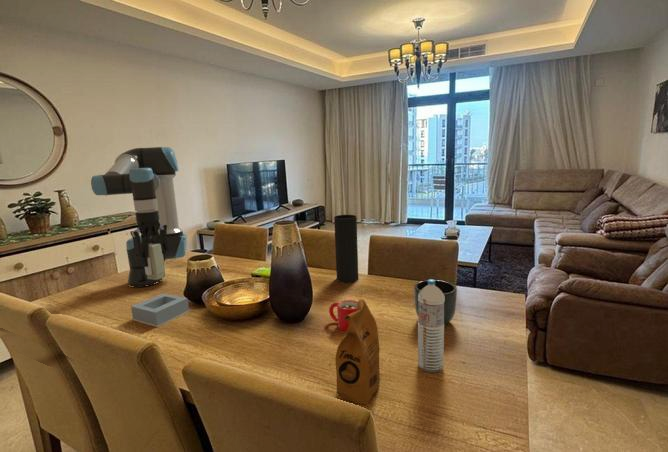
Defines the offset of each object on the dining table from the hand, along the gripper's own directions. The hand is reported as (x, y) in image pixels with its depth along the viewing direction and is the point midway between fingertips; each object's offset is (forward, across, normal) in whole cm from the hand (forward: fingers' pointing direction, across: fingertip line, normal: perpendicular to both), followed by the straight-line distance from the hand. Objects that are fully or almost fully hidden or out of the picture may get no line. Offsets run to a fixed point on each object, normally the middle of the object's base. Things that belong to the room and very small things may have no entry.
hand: (155, 272), depth 138 cm
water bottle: (+18, -8, +101) cm, 103 cm away
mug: (+18, -21, +68) cm, 73 cm away
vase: (+18, -63, +49) cm, 82 cm away
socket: (+18, 0, 0) cm, 18 cm away
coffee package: (+18, +9, +87) cm, 89 cm away
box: (+2, 0, 0) cm, 2 cm away
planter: (+18, -35, +96) cm, 104 cm away
